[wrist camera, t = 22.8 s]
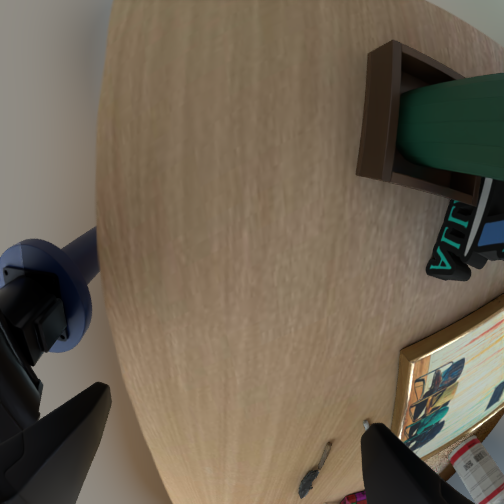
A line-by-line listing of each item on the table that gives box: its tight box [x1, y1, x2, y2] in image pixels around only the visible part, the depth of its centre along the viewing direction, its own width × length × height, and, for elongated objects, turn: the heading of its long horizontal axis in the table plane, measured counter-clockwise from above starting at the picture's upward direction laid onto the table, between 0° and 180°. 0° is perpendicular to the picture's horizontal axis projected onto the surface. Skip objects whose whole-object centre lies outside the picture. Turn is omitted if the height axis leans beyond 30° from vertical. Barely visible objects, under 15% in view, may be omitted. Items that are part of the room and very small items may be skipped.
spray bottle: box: [448, 436, 504, 504], centre depth 27 cm, size 8×8×25 cm
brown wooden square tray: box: [356, 40, 481, 207], centre depth 16 cm, size 9×9×4 cm
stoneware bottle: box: [396, 73, 504, 181], centre depth 11 cm, size 6×6×14 cm
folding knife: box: [299, 470, 319, 499], centre depth 32 cm, size 13×1×2 cm
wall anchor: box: [363, 420, 369, 430], centre depth 29 cm, size 1×9×1 cm
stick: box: [318, 442, 332, 470], centre depth 29 cm, size 7×1×1 cm, turn 0°
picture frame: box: [391, 294, 504, 461], centre depth 29 cm, size 30×2×30 cm
